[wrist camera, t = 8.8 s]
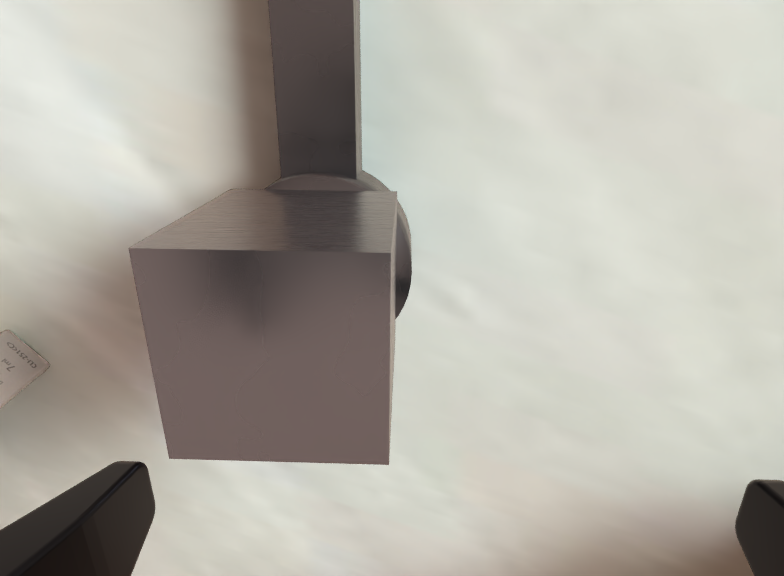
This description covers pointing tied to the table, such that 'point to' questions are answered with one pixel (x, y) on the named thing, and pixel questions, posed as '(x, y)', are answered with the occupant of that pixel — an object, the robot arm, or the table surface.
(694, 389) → the table surface
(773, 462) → the table surface
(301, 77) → the ratchet
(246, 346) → the grey cubic block
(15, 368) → the ink cartridge box
